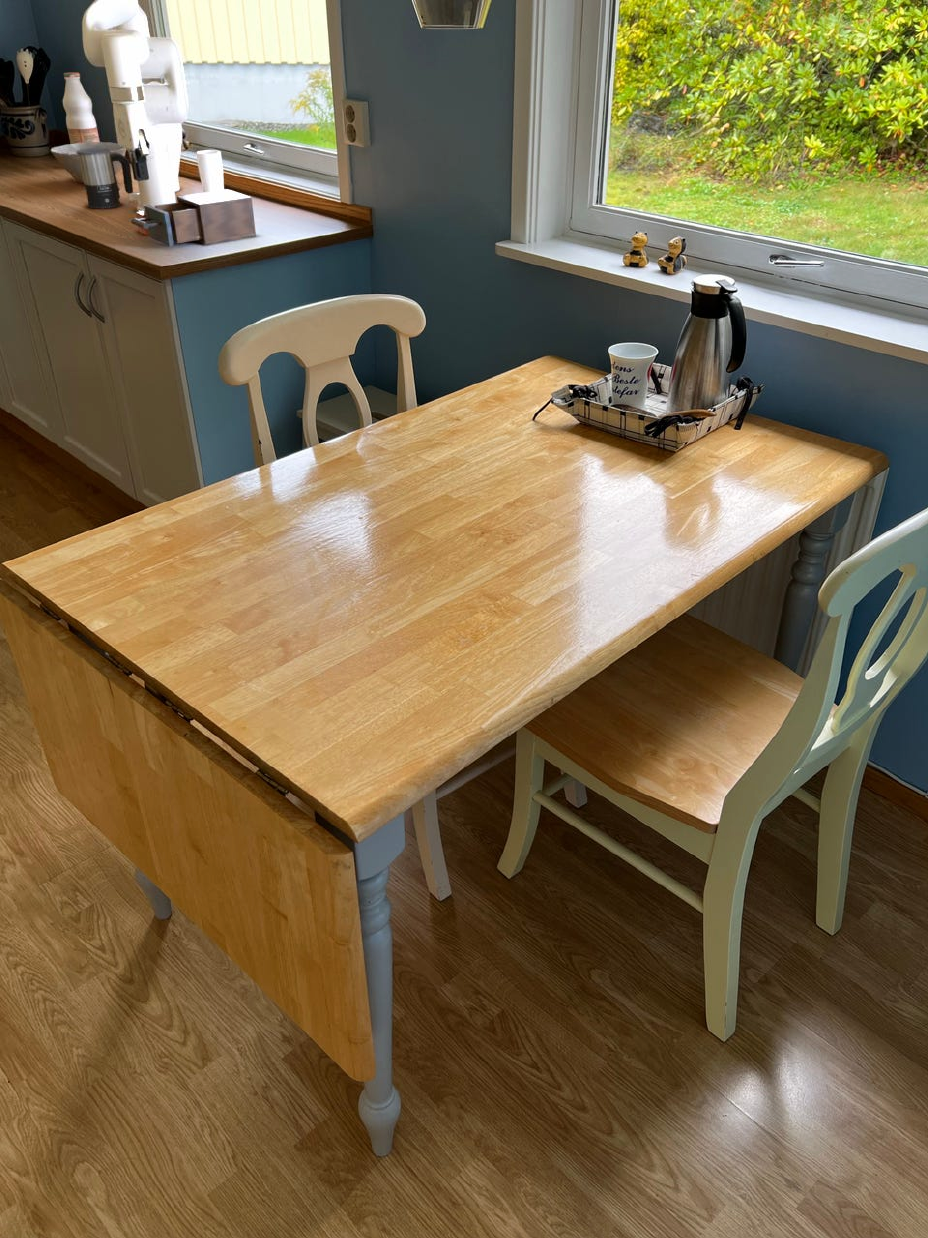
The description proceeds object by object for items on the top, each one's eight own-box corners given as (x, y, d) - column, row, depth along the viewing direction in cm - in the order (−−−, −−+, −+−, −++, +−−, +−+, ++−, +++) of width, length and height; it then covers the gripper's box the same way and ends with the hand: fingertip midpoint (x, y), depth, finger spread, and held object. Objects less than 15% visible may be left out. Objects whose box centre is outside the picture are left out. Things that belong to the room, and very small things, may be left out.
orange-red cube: (146, 235, 252) (142, 214, 250) (138, 231, 255) (135, 211, 253) (163, 232, 255) (159, 212, 252) (155, 229, 258) (151, 209, 255)
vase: (173, 196, 292) (156, 87, 276) (132, 192, 296) (112, 85, 280) (200, 187, 303) (185, 81, 287) (160, 183, 308) (143, 79, 291)
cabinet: (205, 245, 244) (199, 204, 239) (182, 235, 252) (176, 196, 247) (256, 236, 252) (251, 196, 247) (232, 227, 260) (227, 189, 255)
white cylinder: (205, 206, 281) (198, 149, 272) (229, 206, 281) (222, 149, 273) (202, 211, 275) (194, 153, 267) (226, 211, 276) (219, 153, 267)
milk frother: (98, 210, 276) (87, 153, 267) (68, 202, 284) (57, 147, 276) (141, 202, 285) (132, 147, 276) (111, 195, 293) (101, 141, 285)
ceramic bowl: (147, 179, 313) (141, 145, 308) (90, 191, 297) (83, 156, 292) (101, 172, 323) (94, 139, 317) (43, 183, 307) (35, 148, 301)
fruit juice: (71, 168, 328) (52, 74, 312) (80, 163, 336) (61, 71, 320) (99, 168, 329) (81, 74, 313) (107, 163, 336) (90, 71, 320)
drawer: (151, 249, 237) (145, 216, 232) (131, 240, 244) (125, 207, 239) (218, 238, 247) (214, 205, 242) (197, 229, 254) (193, 198, 249)
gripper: (99, 92, 229) (115, 176, 239) (124, 99, 219) (139, 186, 230) (130, 90, 232) (144, 172, 243) (155, 97, 223) (169, 182, 233)
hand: (141, 179), depth 236 cm, fingers closed
